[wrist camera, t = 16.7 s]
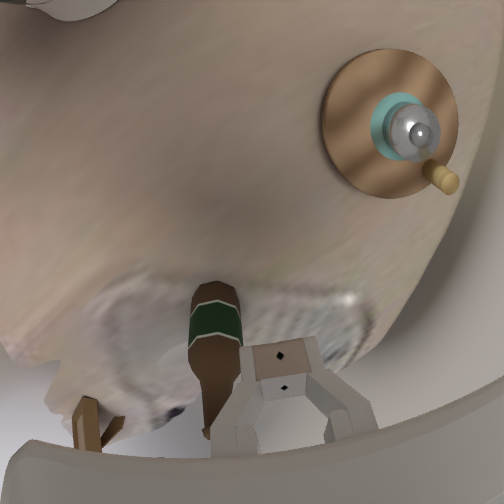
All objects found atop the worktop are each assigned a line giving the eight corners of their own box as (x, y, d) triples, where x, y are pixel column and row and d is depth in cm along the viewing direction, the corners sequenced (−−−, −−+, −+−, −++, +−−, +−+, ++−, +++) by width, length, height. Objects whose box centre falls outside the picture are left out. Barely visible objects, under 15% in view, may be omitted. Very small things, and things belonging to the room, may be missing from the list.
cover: (372, 120, 31) (388, 128, 28) (413, 91, 29) (431, 97, 25) (397, 164, 34) (413, 175, 31) (434, 136, 32) (452, 145, 29)
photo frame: (72, 414, 76) (62, 479, 56) (83, 394, 67) (70, 473, 47) (111, 428, 83) (106, 492, 62) (130, 411, 74) (124, 489, 53)
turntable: (287, 121, 33) (301, 135, 27) (394, 20, 25) (427, 17, 19) (382, 218, 41) (404, 244, 36) (467, 131, 34) (498, 147, 28)
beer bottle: (248, 299, 50) (265, 437, 31) (213, 320, 52) (215, 450, 33) (218, 271, 46) (222, 421, 27) (182, 295, 48) (170, 435, 29)
